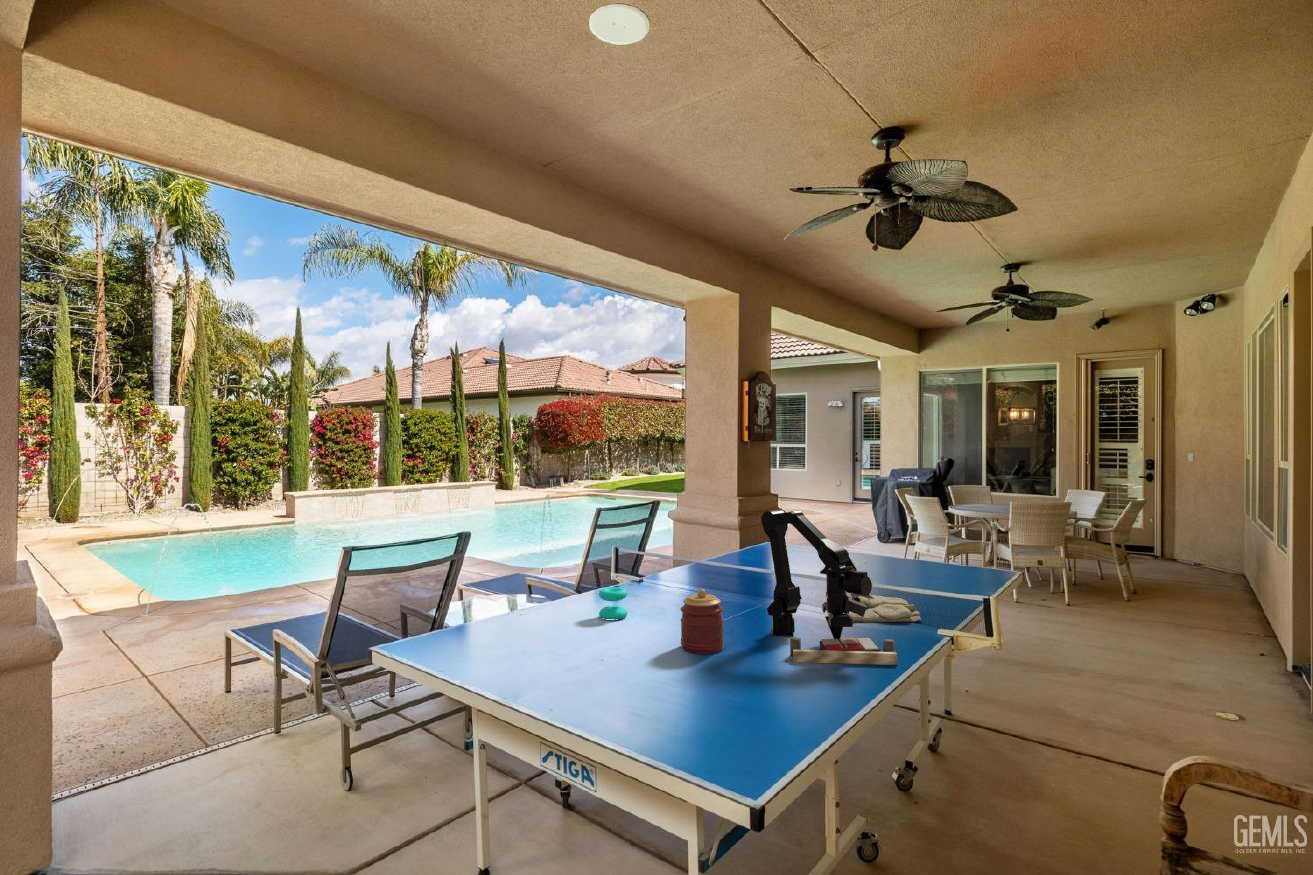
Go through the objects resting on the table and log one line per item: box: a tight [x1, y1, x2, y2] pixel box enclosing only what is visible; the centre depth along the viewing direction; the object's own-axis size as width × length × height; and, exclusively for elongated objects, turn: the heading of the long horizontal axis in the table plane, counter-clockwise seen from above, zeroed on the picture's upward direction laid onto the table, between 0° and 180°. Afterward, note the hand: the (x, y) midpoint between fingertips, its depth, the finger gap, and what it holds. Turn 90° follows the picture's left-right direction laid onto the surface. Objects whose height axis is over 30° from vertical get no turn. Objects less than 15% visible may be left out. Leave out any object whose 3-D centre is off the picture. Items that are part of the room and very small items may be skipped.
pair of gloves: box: [843, 593, 922, 623], centre depth 236 cm, size 30×26×5 cm
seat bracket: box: [789, 636, 898, 666], centre depth 185 cm, size 29×7×5 cm, turn 83°
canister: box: [679, 588, 725, 655], centre depth 197 cm, size 13×13×18 cm
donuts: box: [598, 586, 628, 620], centre depth 233 cm, size 10×10×10 cm
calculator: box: [819, 637, 881, 652], centre depth 189 cm, size 11×4×15 cm
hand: (837, 642), depth 196 cm, fingers closed
